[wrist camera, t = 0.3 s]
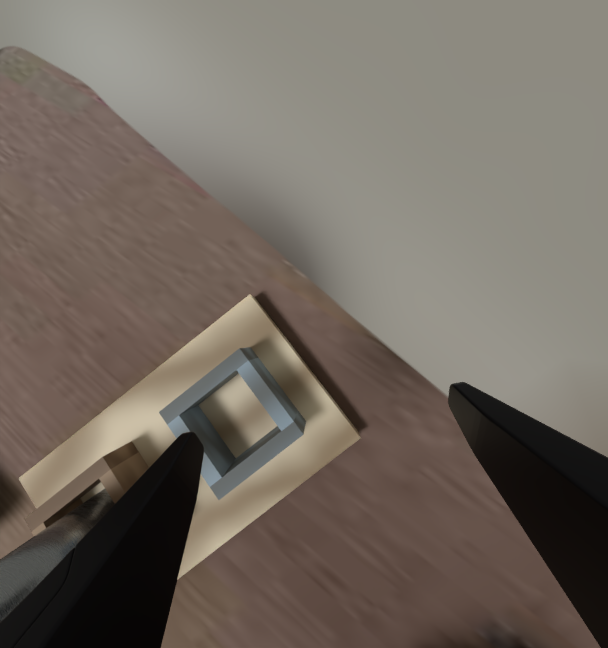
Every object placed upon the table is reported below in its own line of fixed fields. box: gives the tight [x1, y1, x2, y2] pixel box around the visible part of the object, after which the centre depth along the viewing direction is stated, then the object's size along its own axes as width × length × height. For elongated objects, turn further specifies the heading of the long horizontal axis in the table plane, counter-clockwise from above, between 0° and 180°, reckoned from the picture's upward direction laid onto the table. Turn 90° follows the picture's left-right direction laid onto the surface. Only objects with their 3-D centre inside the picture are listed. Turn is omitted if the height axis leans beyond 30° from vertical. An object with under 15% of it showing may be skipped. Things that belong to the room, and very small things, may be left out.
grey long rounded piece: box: [0, 488, 115, 622], centre depth 17 cm, size 4×4×11 cm
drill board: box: [19, 294, 361, 579], centre depth 21 cm, size 16×28×4 cm, turn 128°
